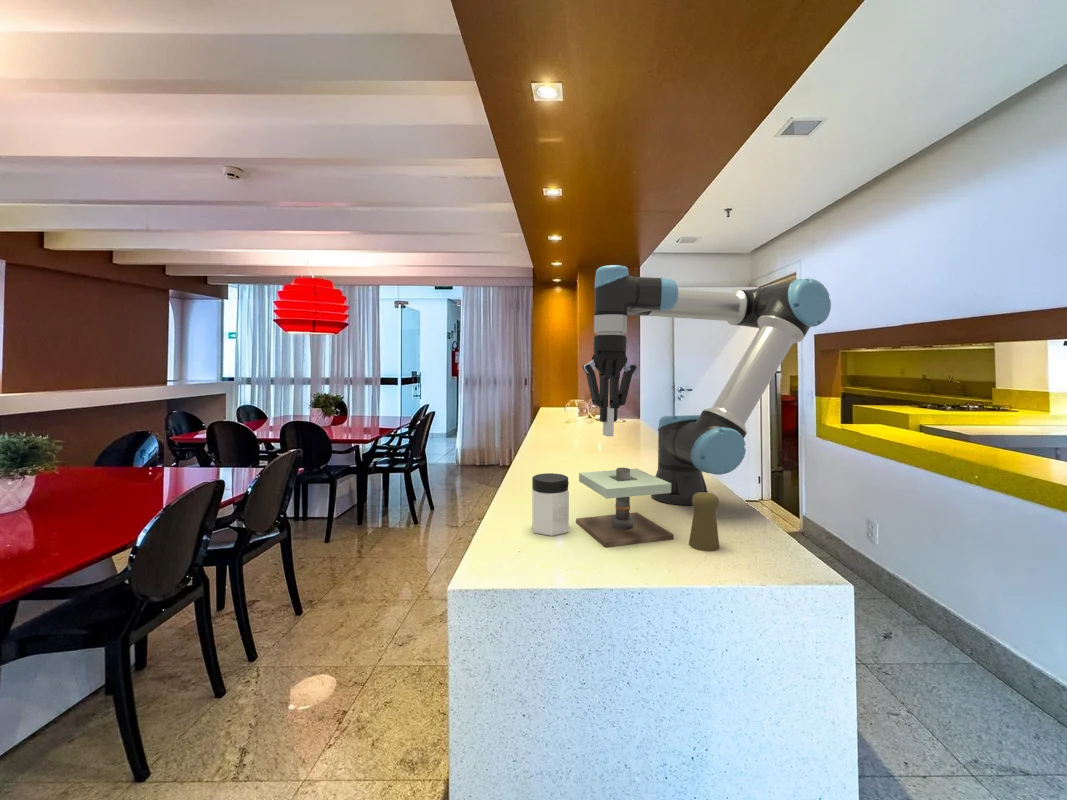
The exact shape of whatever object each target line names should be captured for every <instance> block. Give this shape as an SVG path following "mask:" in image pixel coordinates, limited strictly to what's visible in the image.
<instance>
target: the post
mask: <svg viewBox="0 0 1067 800" xmlns="http://www.w3.org/2000/svg"><path fill="white" fill-rule="evenodd" d="M630 469H631V468H628V467H617V468H616V469H615V470H616V481H630ZM630 498H631V497H620V498H615V514H607V515H597V516H596V515H595V516H588V517H587V516H586V517H577V518H575V523H576V524H577V525H578V526H579V527H581V529H583V530H584V531H585V532H586V533H587V534H588V535H590V536H591V537H592V538H593V539H594V540H596V541H597V542H598V543H599V544H600V545H602V547H604V548H610V547H619V546H626V545H627V546H628V545H636V544H637V545H638V544H644V543H645V544H646V543H651V542H661V541H667V540H668V541H669V540H674V534H673V533H672V532H670V531H669V530H667V529H666V528H664V527H662V526H661V525H659V524H658V523H655V522H654V521H652V520H651V519H649V518H647V517H646V516H644V515H642V514H641V513H639V512H637V511H634V512H630V510H631V505H630V504H631V501H630Z"/></svg>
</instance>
